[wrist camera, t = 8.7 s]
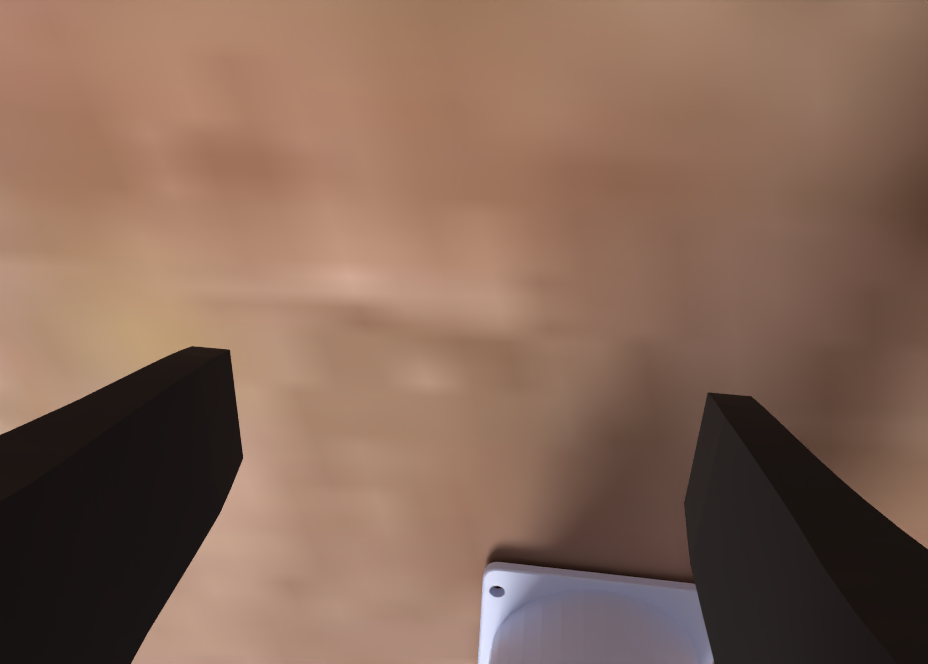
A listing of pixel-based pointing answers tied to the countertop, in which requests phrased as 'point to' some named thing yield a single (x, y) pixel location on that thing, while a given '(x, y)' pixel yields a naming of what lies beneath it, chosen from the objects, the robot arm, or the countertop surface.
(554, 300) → the countertop surface
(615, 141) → the countertop surface
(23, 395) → the countertop surface
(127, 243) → the countertop surface
